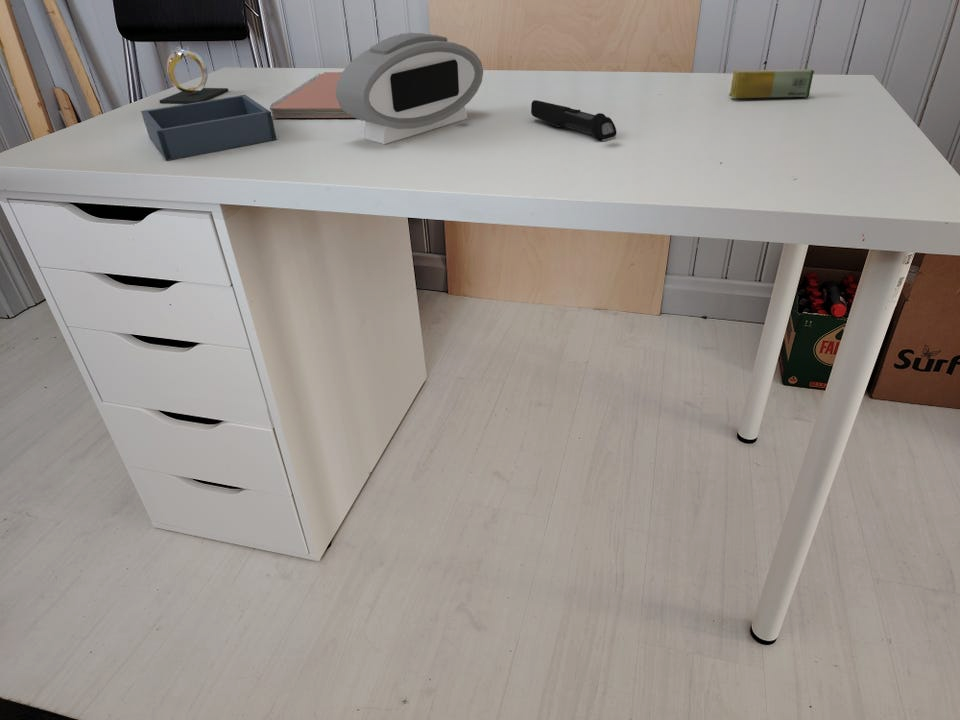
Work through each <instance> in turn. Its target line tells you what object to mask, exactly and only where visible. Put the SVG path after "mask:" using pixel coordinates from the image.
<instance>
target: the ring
mask: <svg viewBox="0 0 960 720" xmlns="http://www.w3.org/2000/svg"><path fill="white" fill-rule="evenodd" d="M185 57H187V58H189V59H191V60H193V61H194V62H196V63H197V64H198V66H199V68H200V70H201V81H200V83H199V84H198V85H197V86H196V87H189V88H190V89H189V88H184V87H182V86H181V85H180V84H179V83H178V81H177V80H176V77H175V69H176V66H177V65H178V63H179V62H180V61H181V60H182V59H183V58H185ZM166 70H167V71H166V72H167V76H168V79H169V81H170V82H171V84H172V85H173V86H174V87H175V89H177V90H178V91H180V92H185V93H191V94H196V92H199V91H200V90H202V89H203V88H205V86H206V85H207V83H208V82H207V81H208V78H209V77H208V75H209V73H208V68H207V65H206V63H205V61H204V59H203V58H202V57H201V56H200V55H199V54H198V53H196V52H194V51H190V46H186V47H185V46H183V49H182V46H176V47H175V49H174V50H173V49H172V50H171V53H170V54H169V56H168V58H167V62H166Z"/></svg>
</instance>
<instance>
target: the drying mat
mask: <svg viewBox="0 0 960 720" xmlns="http://www.w3.org/2000/svg"><path fill="white" fill-rule="evenodd" d="M190 88H191V87H189V88H188V89H190ZM227 92H229V88H227V87H204V88H203V89H202V90H200V91H199V92H196V94H191V93H185V92H182V91H180V92H176V93H174V94H172V95H169V96H167V97H164V98H161V99H159V100H158V101H159V104H176V105H183V104H189V103H196V102H202V101H208V100H212V99H214V98H216V97H218V96H220V95H223V94H224V93H227Z"/></svg>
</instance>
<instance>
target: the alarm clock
mask: <svg viewBox="0 0 960 720" xmlns="http://www.w3.org/2000/svg"><path fill="white" fill-rule="evenodd" d="M341 72H342V73H341V76H340V78H339V80H338V82H337V85H336V97H337V100H338V103H339V105H340V107H341V108H342V109H343V110H344V111H345V112H346V113H347V114H349V115H351V116H353V117H355V119H358V120H359V121H364V124H363V139H365V140H368V141H372V142H374V143H379V144H382V145H387V144H389V143H390V144H391V143H393V142H397V141H400V140H403V139H406V138H409V137H412V136H413V137H414V136H416V135H419V134H423V133H425V132H429V131H432V130H435V129H438V128H442V127H445V126H448V125H452V124H454V123H457V122H460V121H464V120H468V113H467V109H466V105H467V104H469V103H470V102H471V101H472V99H473V98H474V96H475V95H476V94H477V93H478V91H479V89H480V88H481V87H480V86H481V85H482V82H483V77H484V68H483V63H482V61H481V59H480V57H479V56H478V55H477V53H476V52H474V51H473V50H471V49H470V48H469V47H467V46H465V45H462V44H460V43H456V42H453V41H448V37H446V36H443V35H439V34H438V35H437V34H430V33H422V32H405V33H399V34H395V35H392V36H389V37H387V38H385V39H382V40H381V41H378V42H377V43H375V44H374V45H372V46H370V47H369V48H368V49H367V50H365V51H363V52H361V53H360V54H359V55H358V56H357V57H355V58H354V59H352V60H351V61H350V62H349V63H348V65H347V66H346V67H344V69H343V71H341Z"/></svg>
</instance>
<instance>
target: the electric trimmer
mask: <svg viewBox="0 0 960 720" xmlns="http://www.w3.org/2000/svg"><path fill="white" fill-rule="evenodd" d="M530 114H531V116H533V117H534V118H536V119H538V120H541V121H543V122H546V123H547V124H550V125H552V126H554V127H557V128H559V129H564V128H568V129H571V130H575V131H577V132H578V131H579V132H581V133H585V134H588V135H591V136H593V138H594V139H595V140H596V141H602V142H606V141H609V140H612V139H615V138H616V136H617V134H618V133H617V132H618V131H617V127H616V125H615V123H614V121H613V120H612V119H611V117H609V116H606V115H605V114H604V113H601V112H598V113H595V114H592V113H588V112H585V111H582V110H581V109H575V108H571V107H569V106H565V105H560V104H556V103H551V102H546V101H541V100H536V99H534V100H532V102H531V104H530Z"/></svg>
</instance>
